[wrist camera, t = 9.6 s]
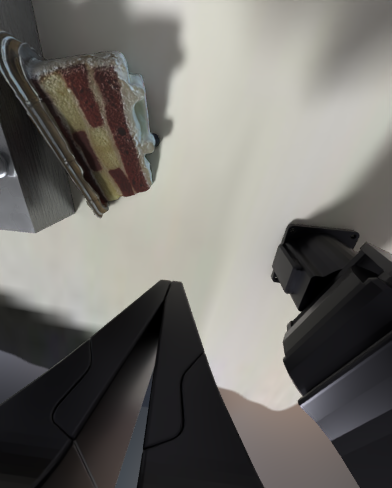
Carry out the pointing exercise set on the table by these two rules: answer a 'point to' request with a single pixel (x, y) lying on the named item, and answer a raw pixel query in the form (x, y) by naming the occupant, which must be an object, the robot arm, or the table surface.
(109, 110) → the chocolate cake
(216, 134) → the table surface
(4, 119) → the stop rail
